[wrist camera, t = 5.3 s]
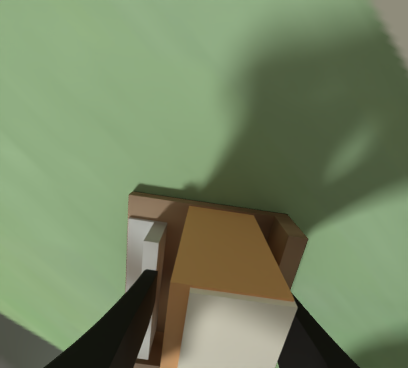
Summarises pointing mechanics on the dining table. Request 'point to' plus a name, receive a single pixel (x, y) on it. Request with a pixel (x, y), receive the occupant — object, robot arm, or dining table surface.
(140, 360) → the shelf
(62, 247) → the dining table surface
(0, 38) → the dining table surface
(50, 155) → the dining table surface
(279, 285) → the tan block
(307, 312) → the robot arm
